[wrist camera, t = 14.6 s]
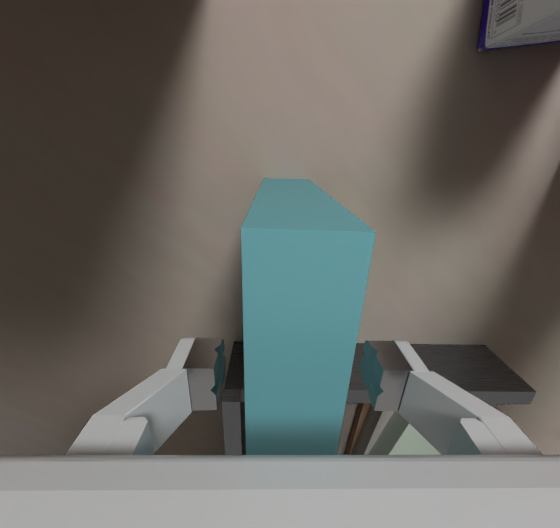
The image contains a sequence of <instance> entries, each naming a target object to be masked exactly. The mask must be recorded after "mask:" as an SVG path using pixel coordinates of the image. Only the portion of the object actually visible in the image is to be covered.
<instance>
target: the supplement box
mask: <svg viewBox="0 0 560 528" xmlns="http://www.w3.org/2000/svg"><path fill="white" fill-rule="evenodd" d="M555 42H560V0H484V7H483V15H482V22H481V29H480V36H479V43H478V51H488V50H496V49H503V48H512V47H520V46H529V45H537V44H548V43H555Z"/></svg>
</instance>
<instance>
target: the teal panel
mask: <svg viewBox="0 0 560 528" xmlns="http://www.w3.org/2000/svg"><path fill="white" fill-rule="evenodd" d="M375 234H376V232H375V231H374V230H373V229H371V228H370V227H369V226H367V225H366V224H365V223H364V222H362V221H361V220H360V219H359V218H357V217H356V216H355V215H353V214H352V213H351V212H350V211H348V210H347V209H346V208H344V207H343V206H342V205H341V204H339V203H338V202H337V201H336V200H334V199H333V198H332V197H330V196H329V195H328V194H327V193H325V192H324V191H323V190H322V189H320V188H319V187H318V186H316V185H315V184H314V183H313V182H311V181H310V180H304V179H275V178H264V180H263V182H262V184H261V186H260V188H259V191H258V193H257V195H256V197H255V199H254V201H253V204H252V206H251V208H250V210H249V212H248V214H247V216H246V219H245V221H244V223H243V225H242V227H241V249H242V295H243V340H244V386H245V431H246V455H337V451H338V445H339V439H340V434H341V428H342V422H343V416H344V411H345V405H346V399H347V394H348V388H349V382H350V377H351V371H352V365H353V359H354V354H355V348H356V342H357V337H358V331H359V325H360V320H361V314H362V308H363V302H364V297H365V291H366V285H367V280H368V274H369V268H370V263H371V257H372V251H373V245H374V240H375Z"/></svg>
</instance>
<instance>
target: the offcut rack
mask: <svg viewBox="0 0 560 528" xmlns="http://www.w3.org/2000/svg"><path fill="white" fill-rule="evenodd" d="M410 345H411V346H412V348H413V349H414V351H415V352H416V353H417V355H418V356H419V357H420V359H421V360H422V362H423V363H424V364H425V366H426V367H427V369H428V370H429V371H434V372H435V373H437V374H439V375H440V376H442V377H444V378H445V379H447V380H449V381H450V382H452V383H454V384H455V385H457V386H459V387H460V388H462V389H464V390H465V391H467V392H468V393H470V394H472V395H473V396H475V397H477V398H478V399H480V400H482V401H483V402H485V403H487V404H488V405H490V406H492V407H493V408H496V406H497V404H530V403H531V401H532V399H533V397H534V395H535V393H536V391H535V390H534V389H533V388H531V387H530V386H529V385H528V384H527V383H526V382H525V381H524V380H523V379H522V378H520V377H519V376H518V375H517V374H516V373H515V372H514V371H513V370H512V369H511V368H509V367H508V366H507V365H506V364H505V363H504V362H503V361H502V360H501V359H500V358H498V357H497V356H496V355H495V354H494V353H493V352H492V351H491V350H490V349H489V348H487V347H486V346H485V345H432V344H410ZM363 347H364V344H362V343H356V348H355V354H354V359H353V365H352V371H351V377H350V382H349V388H348V394H347V399H346V403H371V401H370V399H369V396H368V392H369V388H368V387H366V386H365V385H364V383H363V381H362V377H361V372H360V364H361V358H362V357H363V356H365V352H364V350H363ZM222 416H223V431H224V446H225V455H246V431H245V386H244V342H234V345H233V350H232V355H231V359H230V364H229V369H228V373H227V378H226V383H225V388H224V392H223V397H222Z"/></svg>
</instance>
